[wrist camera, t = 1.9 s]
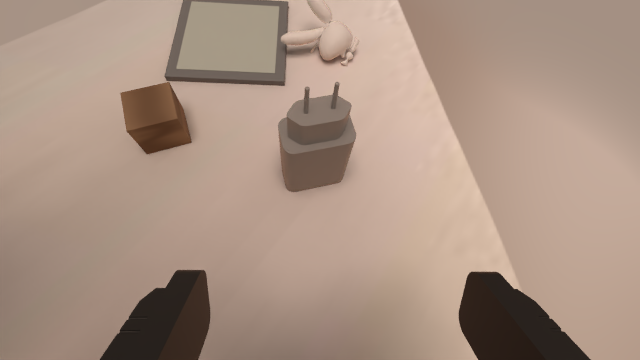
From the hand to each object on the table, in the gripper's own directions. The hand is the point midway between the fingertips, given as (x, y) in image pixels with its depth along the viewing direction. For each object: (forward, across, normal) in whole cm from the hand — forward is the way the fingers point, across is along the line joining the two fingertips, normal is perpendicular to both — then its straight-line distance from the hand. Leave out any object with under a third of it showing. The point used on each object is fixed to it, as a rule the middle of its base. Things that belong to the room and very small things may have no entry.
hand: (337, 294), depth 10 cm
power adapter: (+20, 0, +3) cm, 21 cm away
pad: (+31, +9, -8) cm, 34 cm away
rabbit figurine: (+31, 0, -8) cm, 32 cm away
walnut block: (+23, +14, 0) cm, 27 cm away
